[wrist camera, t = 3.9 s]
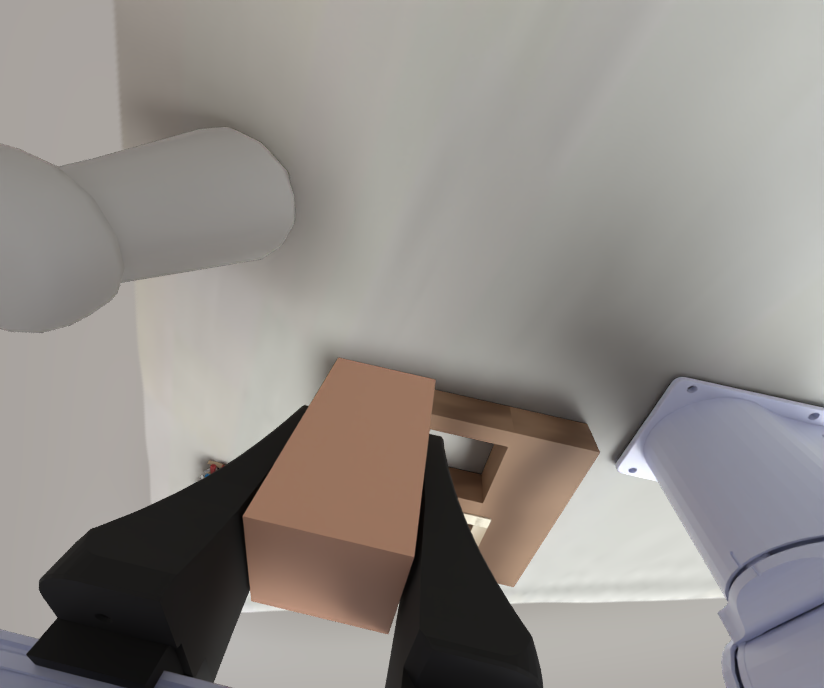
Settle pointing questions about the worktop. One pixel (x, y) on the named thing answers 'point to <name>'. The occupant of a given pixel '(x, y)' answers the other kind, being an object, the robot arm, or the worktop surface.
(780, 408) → the robot arm
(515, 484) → the wooden peg board
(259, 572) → the pin
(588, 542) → the worktop surface
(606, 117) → the worktop surface
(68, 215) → the salt shaker
